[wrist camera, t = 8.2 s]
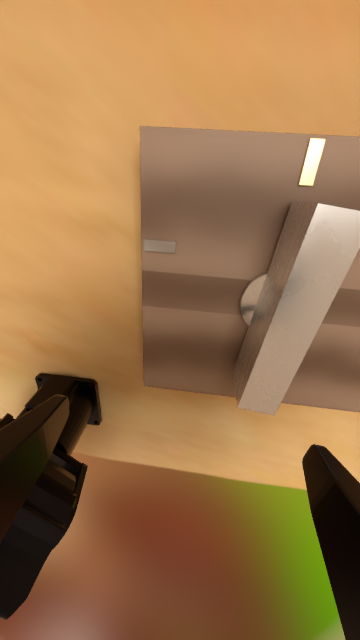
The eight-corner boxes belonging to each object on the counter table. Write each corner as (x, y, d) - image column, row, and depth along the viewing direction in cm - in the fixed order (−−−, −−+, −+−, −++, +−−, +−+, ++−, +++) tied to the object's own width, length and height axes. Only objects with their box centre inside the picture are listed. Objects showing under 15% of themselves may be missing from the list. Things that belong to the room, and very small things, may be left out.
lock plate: (342, 386, 23) (360, 414, 20) (151, 364, 24) (143, 387, 21) (457, 153, 14) (519, 143, 11) (151, 137, 15) (138, 124, 12)
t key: (264, 196, 15) (293, 198, 10) (333, 209, 15) (401, 218, 10) (218, 349, 21) (222, 404, 16) (269, 359, 21) (289, 418, 16)
